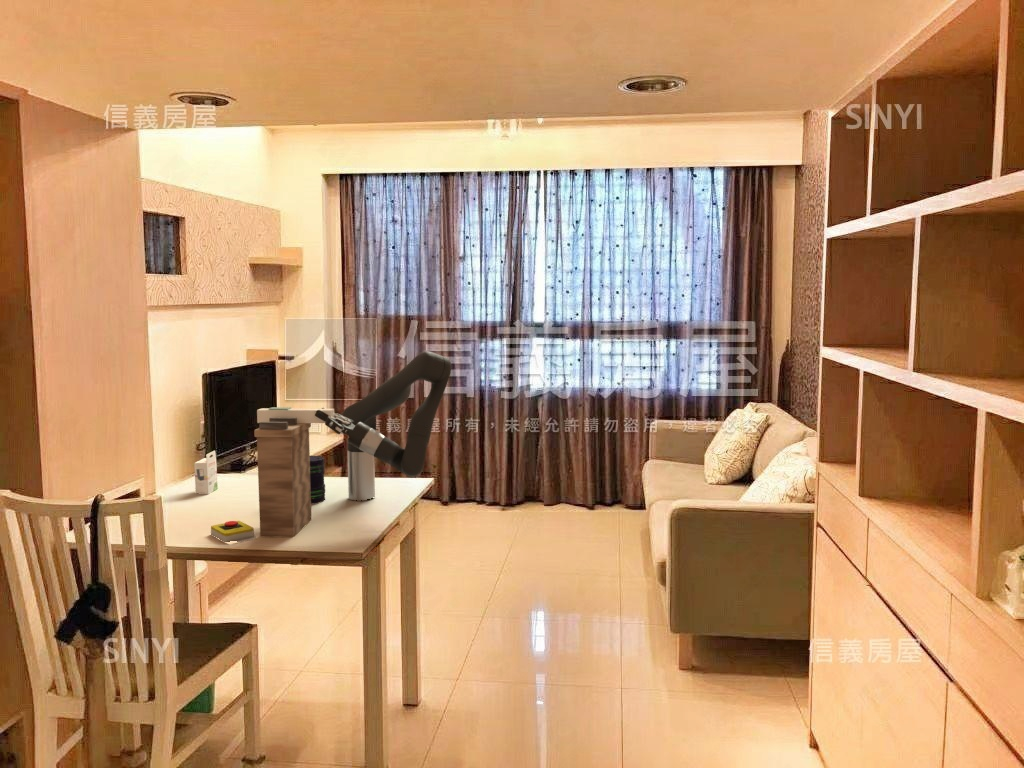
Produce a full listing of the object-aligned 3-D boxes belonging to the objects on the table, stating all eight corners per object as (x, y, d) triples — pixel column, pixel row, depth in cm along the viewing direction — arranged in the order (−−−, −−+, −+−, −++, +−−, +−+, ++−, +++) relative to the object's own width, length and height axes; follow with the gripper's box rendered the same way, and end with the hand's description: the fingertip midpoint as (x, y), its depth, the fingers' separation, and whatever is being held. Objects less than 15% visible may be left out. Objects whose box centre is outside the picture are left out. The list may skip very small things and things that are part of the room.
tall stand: (279, 519, 252) (276, 414, 248) (313, 519, 251) (310, 414, 248) (258, 536, 233) (254, 423, 229) (294, 537, 233) (291, 423, 229)
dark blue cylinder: (293, 504, 271) (292, 461, 270) (300, 497, 281) (298, 455, 279) (322, 503, 271) (321, 461, 270) (328, 496, 281) (327, 455, 280)
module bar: (262, 421, 247) (261, 407, 247) (334, 421, 246) (334, 407, 246) (257, 422, 243) (256, 408, 243) (331, 423, 242) (330, 409, 242)
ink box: (204, 489, 293) (203, 449, 292) (218, 489, 293) (216, 449, 291) (194, 494, 284) (193, 454, 283) (208, 494, 284) (206, 454, 283)
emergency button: (237, 515, 242) (258, 525, 231) (237, 529, 243) (259, 540, 232) (207, 520, 236) (227, 531, 225) (207, 535, 237) (227, 546, 226)
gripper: (377, 425, 251) (330, 398, 251) (367, 432, 237) (317, 403, 237) (365, 445, 252) (319, 418, 252) (355, 453, 238) (305, 425, 238)
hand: (318, 411), depth 244 cm, fingers closed on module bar, 4 cm apart
